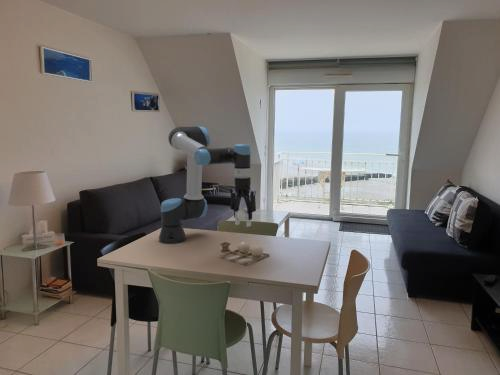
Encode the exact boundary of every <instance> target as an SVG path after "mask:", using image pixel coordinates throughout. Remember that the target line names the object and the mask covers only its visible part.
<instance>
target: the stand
mask: <svg viewBox="0 0 500 375" xmlns="http://www.w3.org/2000/svg"><path fill="white" fill-rule="evenodd" d="M219 245H220V246H221V247H222V249H220V250H219V251H220V252H221V253H222V254H226V253H229V252H231V249H230V248H229V247H230V246H231V243H230V242H227V241H223V242H220V244H219Z"/></svg>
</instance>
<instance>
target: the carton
mask: <svg viewBox="0 0 500 375" xmlns="http://www.w3.org/2000/svg"><path fill="white" fill-rule="evenodd" d="M219 258H220V259H221V260H225V261H229V262H233V263H236V264H239V265H242V266H246V267H248V266H250V265H253V264H254V263H257V262H259V261H262V260H264V259H267V258H270V254H269V253H266V252H263V253H262V255H261V256H259V257H254V256H253V255H252V254H251V248H250V249H249V251H248V252H247V253H244V254H243V253H240V252H239V250H238V248H237V249H235V250H232V251H231V250H230V252H227V253H222V254H220V255H219Z"/></svg>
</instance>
